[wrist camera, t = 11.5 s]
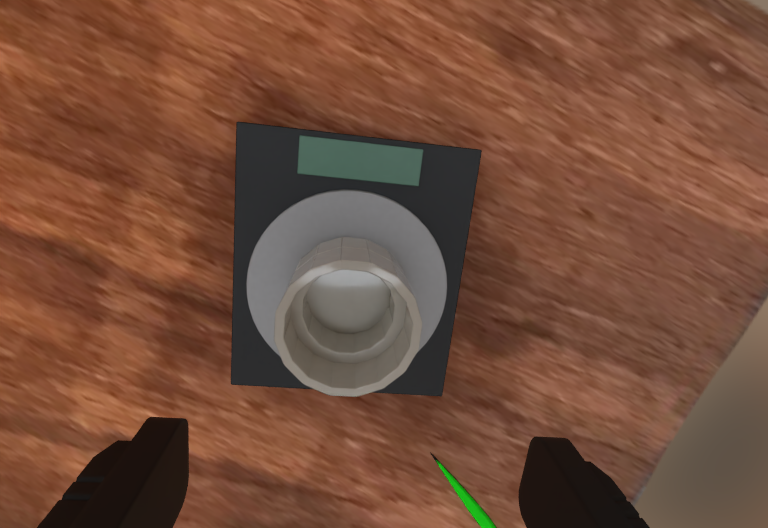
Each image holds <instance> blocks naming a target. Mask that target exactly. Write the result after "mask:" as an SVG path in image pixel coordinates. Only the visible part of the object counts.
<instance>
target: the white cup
mask: <svg viewBox="0 0 768 528" xmlns="http://www.w3.org/2000/svg"><path fill="white" fill-rule="evenodd" d="M421 331H422V319H421V316H420V312H419V309H418V305H417V302H416V298H415V296H414V294H413V291H412V289H411V287H410V284H409V282H408V280H407V278H406V275H405V273H404V271H403V269H402V267H401V265H400V264H399V263H398V262H397V260H396V259H395V258H394V257H393V256H392V254H391V253H390V252H389V251H387V249H385V248H383V247H381V246H379V245H377V244H375V243H373V242H372V241H370V240H366V239H362V238H351V237H340V238H336V239H333V240H330V241H326V242H323V243H320V244H319V245H317V246H316V247H314V248H313V249H312V250H311V251H309V252H308V253H307V254H306V255H305V256H303V257H302V258H301V259H300V260H299V262H298V264H297V266H296V268H295V270H294V272H293V274H292V276H291V278H290V280H289V282H288V285H287V287H286V289H285V291H284V294H283V296H282V298H281V300H280V303H279V305H278V307H277V309H276V313H275V326H274V341H275V344H276V346H277V349H278V351H279V354H280V356H281V359H282V361H283V364H284V365H285V366H286V367H287V368H288V369H289V370H290V371H291V372H292V373H293V374H294V375H295V376H296V377H297V378H298V379H299V380H300V381H301V382H302V383H303V384H304V385H306V386H308V387H311V388H313V389H315V390H318V391H320V392H322V393H325V394H327V395H333V396H352V397H356V396H361V395H364V394H367V393H371V392H374V391H377V390H381V389H383V388H385V387H386V386H387V385H389V384H390V383H391V382H393V381H394V380H395V379H397V378H398V377H399V376H401V375H402V374H403V373H404V372H405V371H406V370H407V368H408V366H409V365H410V363H411V361H412V360H413V358H414V356H415V355H416V353H417V352H418V349H419V345H420V338H421Z"/></svg>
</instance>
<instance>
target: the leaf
mask: <svg viewBox="0 0 768 528" xmlns="http://www.w3.org/2000/svg"><path fill="white" fill-rule="evenodd" d="M431 455H432V454H431ZM432 456H433V455H432ZM433 458H434V459H435V461H436V462H437V464H438V465H439V467H440V468H441V470H442V471H443V473H444V474H445V476H446V478H447V479H448V481H449V482H450V484H451V485H452V487H453V488H454V490H455V491H456V493H457V494H458V496H459V497H460V499H461V500H462V502H463V503H464V505H465V506H466V508H467V509H468V510H469V512H470V513H471V514H472V516H473V517H474V519H475V520H476V521H477V523H478V524H479V525H480V526H481V528H496V526H495V525H494V524H493V522H492V521H491V519H490V518H489V517H488V516H487V514H486V513H485V512H484V511H483V510H482V508H481V507H480V506H479V505H478V504H477V503H476V501H475V500H474V499H473V498H472V497H471V496H470V495H469V494H468V493H467V492H466V490H465V489H464V488H463V487H462V486H461V485H460V484H459V483H458V482H457V481H456V479H455V478H454V477H453V476H452V475H451V474H450V473H449V472H448V471H447V470H446V469H445V468H444V467H443V465H442V464H441V463H440V462H439V461H438V460H437V459H436V458H435V457H434V456H433Z"/></svg>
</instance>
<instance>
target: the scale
mask: <svg viewBox="0 0 768 528" xmlns="http://www.w3.org/2000/svg"><path fill="white" fill-rule="evenodd" d="M481 152H482V151H481V150H478V149H469V148H461V147H452V146H443V145H435V144H426V143H418V142H409V141H400V140H392V139H383V138H374V137H366V136H357V135H349V134H340V133H331V132H323V131H314V130H305V129H297V128H288V127H280V126H271V125H262V124H254V123H245V122H237V129H236V175H235V221H234V267H233V313H232V358H231V384H232V385H249V386H267V387H285V388H303V389H313V388H311V387H308V386H306V385H304V384H303V383H302V382H301V381H300V380H299V379H298V378H297V377H296V376H295V375H294V374H293V373H292V372H291V371H290V370H289V369H288V368H287V367H286V366H285V365H284V364H283V361H282V359H281V356H280V354H279V351H278V349H277V346H276V344H275V341H274V326H275V313H276V309H277V307H278V305H279V303H280V300H281V298H282V296H283V294H284V291H285V289H286V287H287V285H288V282H289V280H290V278H291V276H292V274H293V272H294V270H295V268H296V266H297V264H298V262H299V260H300V259H301V258H302V257H303V256H305V255H306V254H307V253H308V252H309V251H311V250H312V249H313V248H314V247H316V246H317V245H319V244H320V243H323V242H326V241H330V240H333V239H336V238H340V237H351V238H362V239H366V240H370V241H372V242H373V243H375V244H377V245H379V246H381V247H383V248H385V249H387V251H389V252H390V253H391V254H392V256H393V257H394V258H395V259H396V260H397V262H398V263H399V264H400V265H401V267H402V269H403V271H404V273H405V275H406V278H407V280H408V282H409V284H410V287H411V289H412V291H413V294H414V296H415V298H416V302H417V305H418V309H419V312H420V316H421V319H422V331H421V338H420V345H419V349H418V352H417V353H416V355H415V356H414V358H413V360H412V361H411V363H410V365H409V366H408V368H407V370H406V371H405V372H404V373H403V374H402V375H401V376H399V377H398V378H397V379H395V380H394V381H393V382H391V383H390V384H389V385H387V386H386V387H385V388H383V389H381V390H377V391H374V393H392V394H410V395H428V396H442V392H443V386H444V380H445V374H446V367H447V361H448V355H449V349H450V343H451V337H452V330H453V324H454V318H455V312H456V306H457V300H458V293H459V287H460V281H461V275H462V269H463V263H464V256H465V250H466V244H467V238H468V232H469V226H470V219H471V213H472V207H473V201H474V195H475V189H476V182H477V176H478V170H479V164H480V158H481Z"/></svg>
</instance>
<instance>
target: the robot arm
mask: <svg viewBox="0 0 768 528" xmlns="http://www.w3.org/2000/svg"><path fill="white" fill-rule="evenodd" d="M188 478H189V447H188V422H187V420H186V419H183V418H162V417H150V418H148V419H147V420H146V421H145V423H144V424H143V425H142V427H141V428H140V429H139V431H138V432H137V434H136V435H135V436H134V438H133V439H132V441H119V440H118V441H116V442H115V443H113V444H112V445H110V446H109V447H108V448H106V449H105V450H103V451H102V452H100V453H99V454H97V455H96V456H95V457H93V459H92V460H91V461H90V462H89V463H88V465H87V466H86V467H85V468H84V470H83V471H82V472H81V473H80V475H79V476H78V477H77V480H76V482H73V483H72V485H71V486H70V487H69V488H68V490H67V491H66V492H65V493H64V495H63V498H62V500H59V501H58V502H57V503H56V505H55V506H54V507H53V508H52V510H51V511H50V512H49V513H48V515H47V516H46V517H45V518H44V520H43V521H42V522H41V523H40V524H39V526H38V527H37V528H173V526H174V523H175V521H176V519H177V517H178V515H179V512H180V510H181V508H182V505H183V503H184V499H185V496H186V491H187V486H188ZM519 506H520V511H521V515H522V518H523V520H524V522H525V525H526V527H527V528H649V526H648V525H647V524H646V522H645V521H644V520H643V519H642V518H639V513H638V512H637V511H636V510H635V508H634V507H633V506H632V504H631V503H630V502H627V500H626V497H625V495H624V494H623V493H622V491H621V490H620V489H619V488H618V486H617V485H616V484H615V482H614V481H613V480H612V479H611V478H610V477H609V476H608V475H606V474H605V473H604V472H603V471H601V470H600V469H599V468H598V467H596V466H595V465H594V464H593V463H591V462H586V461H584V459H583V458H582V456H581V455H580V454H579V452H578V451H577V450H576V448H575V447H574V446H573V444H572V443H571V442H570V441H569V440H568V439H566V438H555V437H534V438H533V439H532V440H531V442H530V445H529V449H528V454H527V458H526V462H525V466H524V471H523V475H522V479H521V483H520V488H519Z"/></svg>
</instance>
